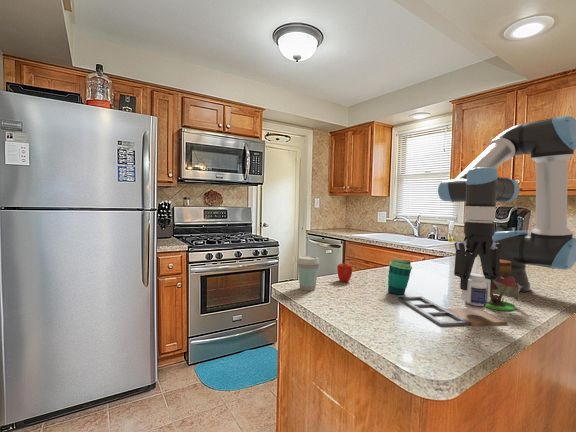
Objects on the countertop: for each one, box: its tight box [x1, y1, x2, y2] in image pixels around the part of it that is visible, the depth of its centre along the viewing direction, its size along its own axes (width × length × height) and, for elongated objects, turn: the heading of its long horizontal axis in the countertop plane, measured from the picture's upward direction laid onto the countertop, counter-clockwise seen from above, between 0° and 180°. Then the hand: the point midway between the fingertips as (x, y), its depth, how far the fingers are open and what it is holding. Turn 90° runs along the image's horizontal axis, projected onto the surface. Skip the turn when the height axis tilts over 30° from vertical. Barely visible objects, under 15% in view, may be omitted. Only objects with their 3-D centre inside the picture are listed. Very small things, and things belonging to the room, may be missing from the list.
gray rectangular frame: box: [397, 295, 471, 327], centre depth 93 cm, size 9×23×1 cm, turn 8°
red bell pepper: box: [336, 263, 353, 283], centre depth 127 cm, size 6×6×8 cm
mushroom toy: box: [486, 259, 522, 312], centre depth 99 cm, size 12×13×15 cm
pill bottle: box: [464, 272, 487, 311], centre depth 88 cm, size 5×5×10 cm
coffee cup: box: [296, 255, 320, 292], centre depth 115 cm, size 9×8×12 cm
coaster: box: [445, 307, 508, 327], centre depth 89 cm, size 11×11×1 cm
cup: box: [387, 258, 413, 296], centre depth 112 cm, size 8×8×12 cm
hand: (475, 300), depth 88 cm, fingers closed on pill bottle, 5 cm apart
